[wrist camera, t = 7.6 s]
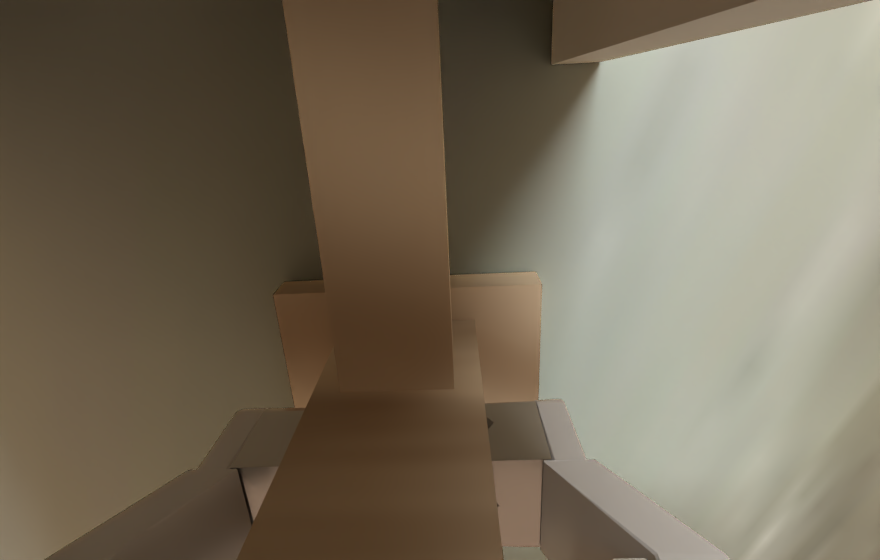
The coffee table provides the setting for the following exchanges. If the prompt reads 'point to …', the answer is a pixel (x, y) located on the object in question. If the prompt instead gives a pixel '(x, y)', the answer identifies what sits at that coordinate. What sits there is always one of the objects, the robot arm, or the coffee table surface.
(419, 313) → the hook tool
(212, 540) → the robot arm
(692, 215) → the coffee table surface
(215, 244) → the coffee table surface
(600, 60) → the cabinet
